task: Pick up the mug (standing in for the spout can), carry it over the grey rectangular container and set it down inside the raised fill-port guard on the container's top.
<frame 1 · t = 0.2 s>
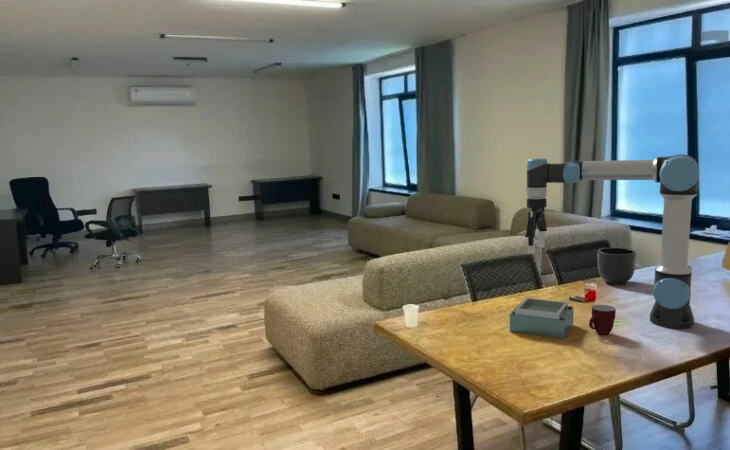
hand: (536, 250, 228), 28 cm above the table, fingers open, 13 cm apart
grey rectangular container: (541, 328, 218), on the table
mug: (600, 335, 209), on the table
planter: (615, 283, 277), on the table
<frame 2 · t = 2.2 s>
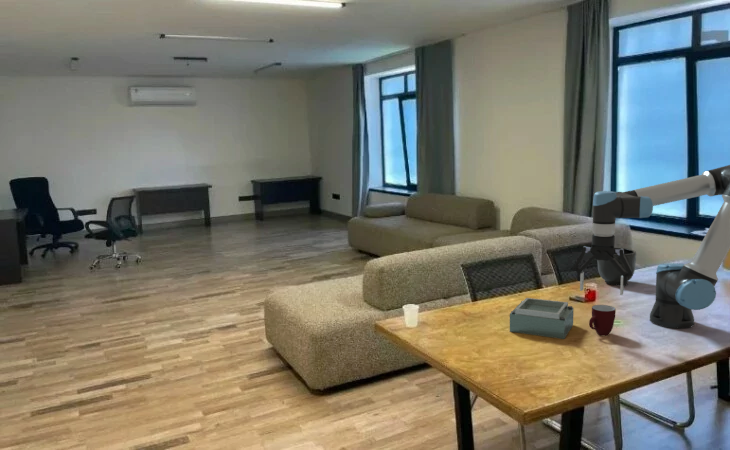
hand: (601, 292, 207), 16 cm above the table, fingers open, 13 cm apart
nothing on the table moved.
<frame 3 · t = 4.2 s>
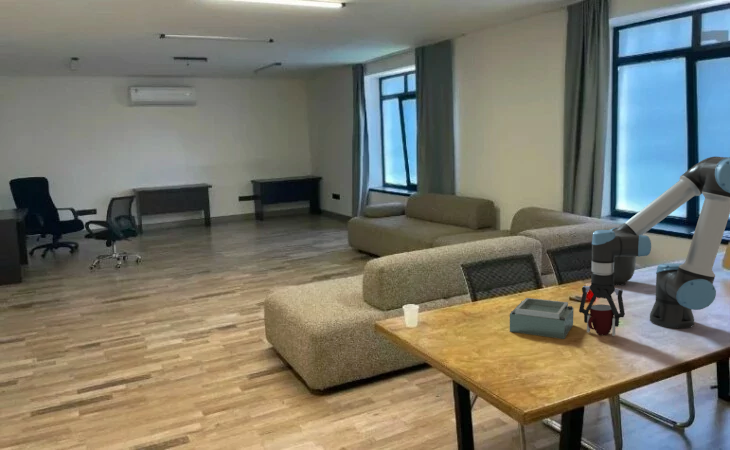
hand: (601, 332, 209), 1 cm above the table, fingers closed on mug, 8 cm apart
mug: (600, 334, 209), on the table, touching gripper
everything else where it was.
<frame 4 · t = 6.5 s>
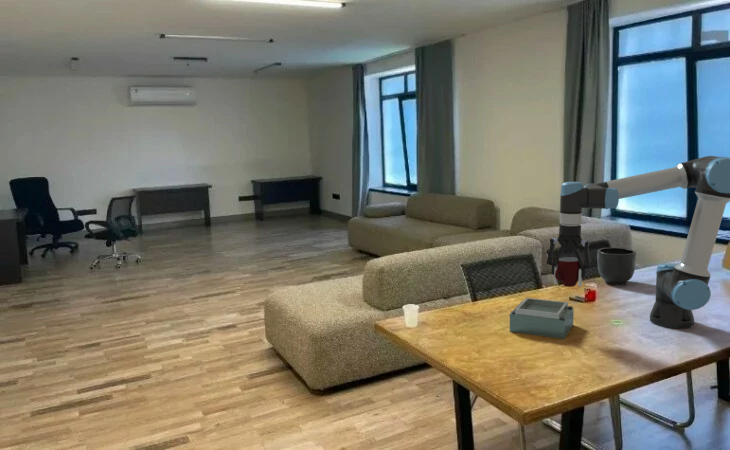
hand: (567, 284, 211), 18 cm above the table, fingers closed on mug, 8 cm apart
mug: (567, 286, 211), point 17 cm above the table, touching gripper
everything else where it was.
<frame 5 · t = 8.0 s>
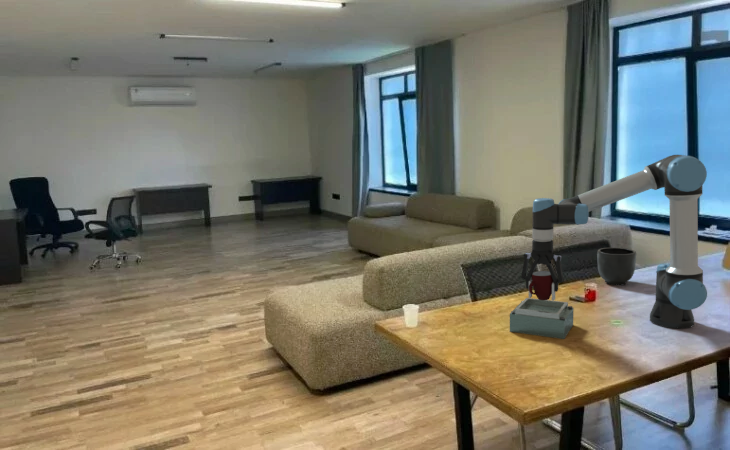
hand: (541, 298, 217), 12 cm above the table, fingers closed on mug, 8 cm apart
mug: (541, 300, 217), point 11 cm above the table, touching gripper
everything else where it was.
when the fingers open (10 cm above the table, at t = 8.8 s): mug drops 2 cm, resting on grey rectangular container.
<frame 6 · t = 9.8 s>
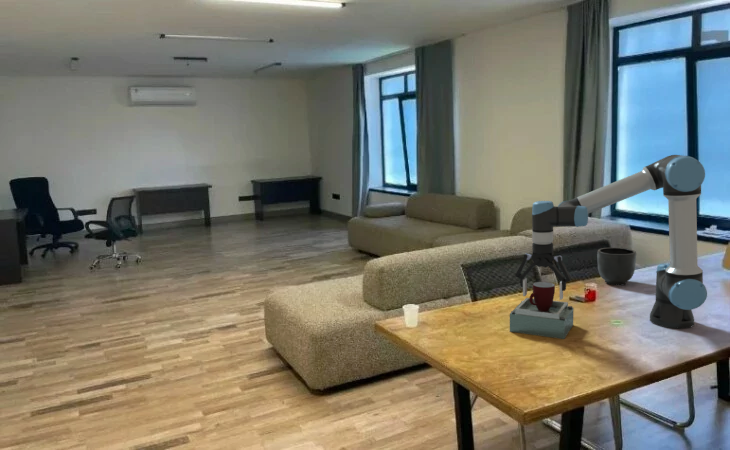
hand: (542, 297, 216), 12 cm above the table, fingers open, 13 cm apart
mug: (541, 310, 218), point 7 cm above the table, touching grey rectangular container
everything else where it was.
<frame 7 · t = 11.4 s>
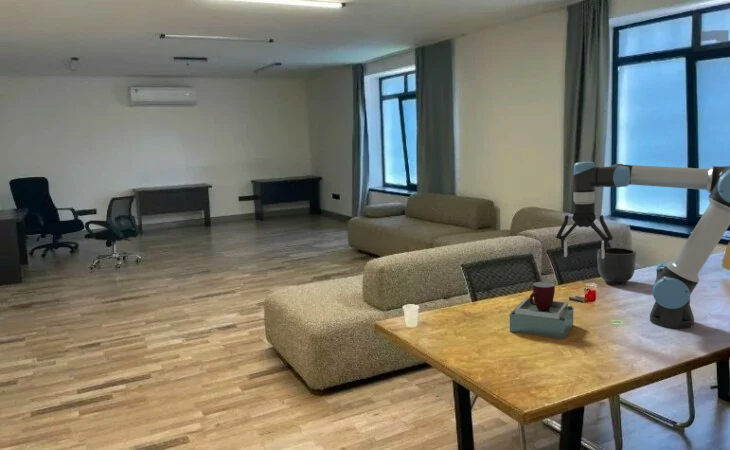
hand: (584, 257, 219), 26 cm above the table, fingers open, 13 cm apart
nothing on the table moved.
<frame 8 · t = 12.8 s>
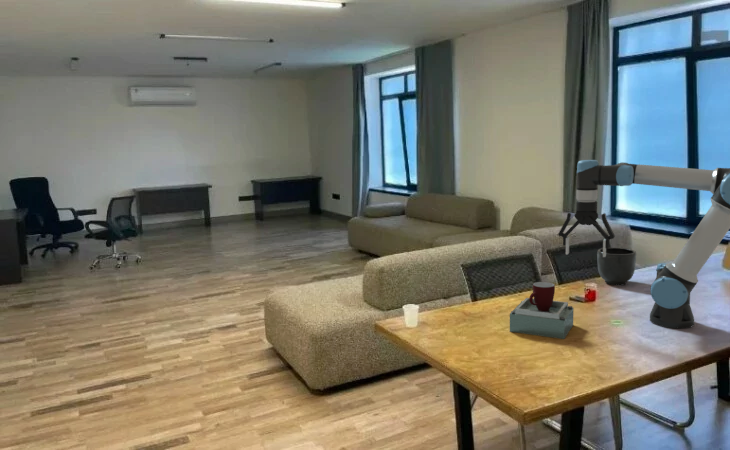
hand: (585, 255, 220), 27 cm above the table, fingers open, 13 cm apart
nothing on the table moved.
at the end: mug inside the target area on the grey rectangular container (0.3 cm from its centre), point 6.8 cm above the grey rectangular container's base; mug tilted 0°; mug touching grey rectangular container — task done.
